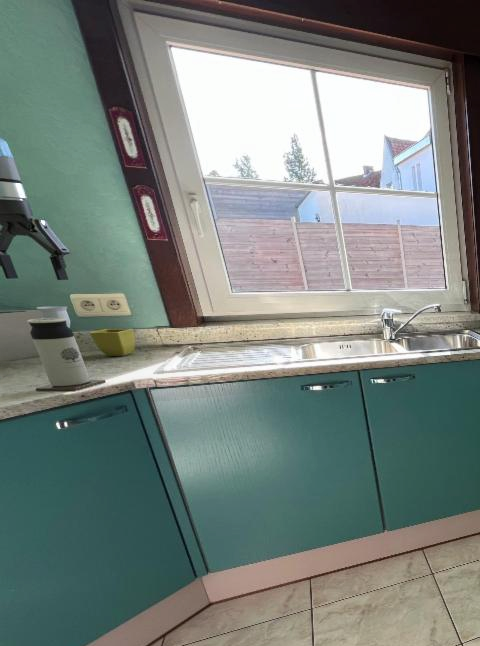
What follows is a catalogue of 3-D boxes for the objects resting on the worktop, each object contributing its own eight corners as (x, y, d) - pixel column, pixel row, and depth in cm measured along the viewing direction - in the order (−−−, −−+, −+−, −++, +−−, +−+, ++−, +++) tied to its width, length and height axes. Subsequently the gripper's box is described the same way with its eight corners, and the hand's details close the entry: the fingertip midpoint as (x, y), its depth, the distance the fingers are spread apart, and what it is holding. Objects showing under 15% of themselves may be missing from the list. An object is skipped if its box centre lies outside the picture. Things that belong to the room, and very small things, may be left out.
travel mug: (45, 384, 139) (19, 319, 132) (82, 379, 145) (59, 316, 139) (59, 388, 136) (33, 322, 129) (96, 382, 142) (73, 319, 136)
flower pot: (97, 357, 176) (88, 332, 173) (114, 353, 184) (106, 328, 181) (126, 357, 178) (117, 332, 175) (141, 352, 186) (133, 328, 183)
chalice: (52, 363, 167) (31, 308, 160) (63, 359, 173) (42, 306, 166) (80, 361, 170) (61, 308, 163) (90, 358, 175) (71, 306, 169)
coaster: (36, 391, 136) (35, 388, 135) (69, 382, 145) (68, 379, 145) (75, 391, 137) (74, 388, 136) (105, 382, 146) (104, 379, 145)
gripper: (69, 203, 143) (94, 279, 150) (-27, 198, 140) (3, 277, 148) (45, 200, 136) (72, 281, 144) (-57, 196, 133) (-23, 278, 141)
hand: (37, 279), depth 146 cm, fingers open, 13 cm apart
